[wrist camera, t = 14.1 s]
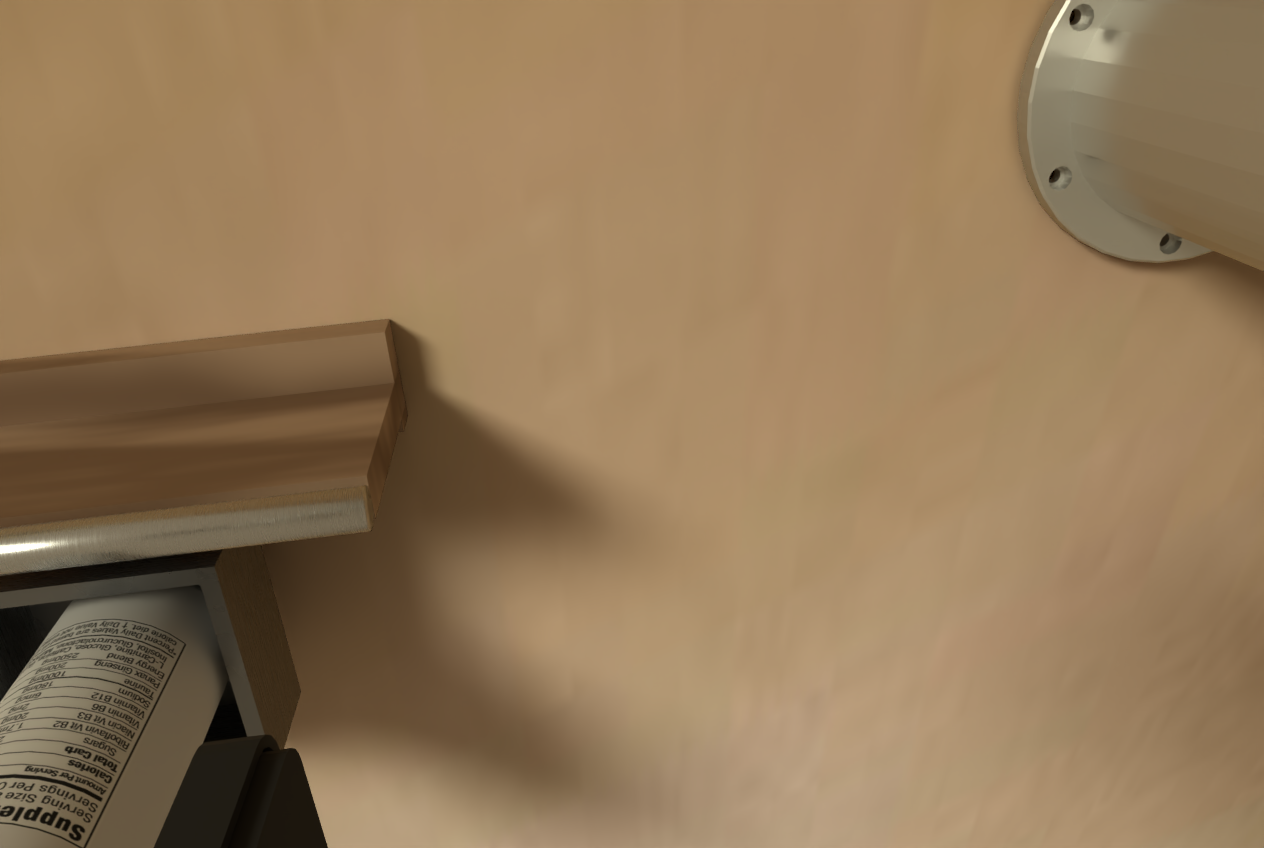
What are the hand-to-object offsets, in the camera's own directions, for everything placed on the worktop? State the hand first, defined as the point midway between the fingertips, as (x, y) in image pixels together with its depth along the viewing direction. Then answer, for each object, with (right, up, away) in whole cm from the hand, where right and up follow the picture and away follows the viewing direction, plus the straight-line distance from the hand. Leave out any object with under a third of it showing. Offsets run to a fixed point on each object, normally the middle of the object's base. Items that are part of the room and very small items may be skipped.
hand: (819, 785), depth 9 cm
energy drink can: (-19, -4, +28) cm, 34 cm away
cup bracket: (-20, 0, +31) cm, 37 cm away
